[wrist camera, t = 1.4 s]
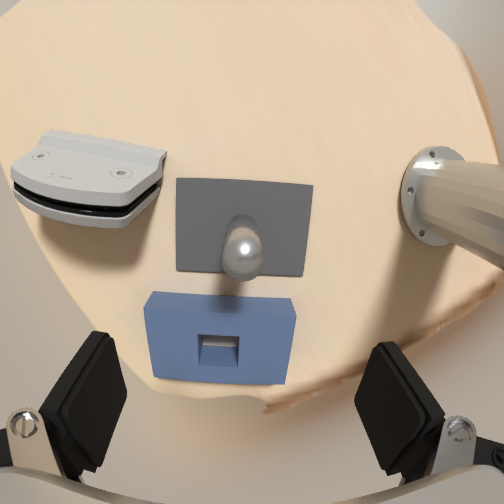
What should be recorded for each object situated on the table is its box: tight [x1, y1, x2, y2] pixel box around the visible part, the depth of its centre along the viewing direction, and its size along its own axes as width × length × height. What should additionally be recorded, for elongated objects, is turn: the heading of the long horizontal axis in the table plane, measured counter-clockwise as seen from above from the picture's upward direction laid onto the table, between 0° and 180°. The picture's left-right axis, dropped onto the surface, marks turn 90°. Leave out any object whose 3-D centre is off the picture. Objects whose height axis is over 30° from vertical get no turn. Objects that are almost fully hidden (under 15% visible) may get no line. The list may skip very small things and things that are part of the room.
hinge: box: [11, 130, 167, 229], centre depth 24 cm, size 17×5×10 cm, turn 73°
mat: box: [176, 178, 313, 276], centre depth 30 cm, size 14×10×1 cm
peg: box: [222, 214, 264, 281], centre depth 25 cm, size 3×3×10 cm
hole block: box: [144, 291, 296, 384], centre depth 32 cm, size 16×10×4 cm, turn 86°
